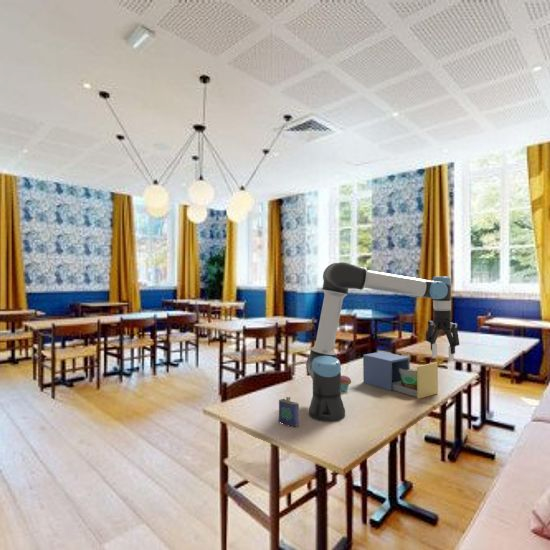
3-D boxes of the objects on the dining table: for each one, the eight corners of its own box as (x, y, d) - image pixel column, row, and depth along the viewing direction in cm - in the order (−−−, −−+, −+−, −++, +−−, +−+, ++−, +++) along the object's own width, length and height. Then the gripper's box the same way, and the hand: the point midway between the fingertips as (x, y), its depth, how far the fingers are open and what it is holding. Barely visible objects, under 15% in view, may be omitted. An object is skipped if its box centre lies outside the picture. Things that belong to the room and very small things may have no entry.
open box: (390, 390, 190) (390, 360, 190) (363, 382, 205) (363, 354, 205) (409, 385, 198) (409, 357, 198) (382, 378, 213) (381, 351, 213)
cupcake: (331, 390, 190) (331, 367, 190) (337, 386, 198) (337, 363, 198) (348, 393, 186) (348, 368, 186) (353, 388, 194) (353, 365, 194)
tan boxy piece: (418, 398, 176) (418, 366, 176) (388, 389, 191) (388, 360, 191) (437, 393, 184) (437, 362, 184) (407, 384, 199) (407, 356, 199)
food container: (397, 390, 186) (397, 370, 186) (398, 386, 192) (398, 367, 192) (424, 392, 182) (424, 372, 182) (424, 389, 187) (424, 369, 187)
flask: (300, 426, 146) (299, 398, 146) (295, 428, 143) (295, 400, 144) (281, 420, 152) (280, 394, 152) (276, 422, 149) (276, 395, 149)
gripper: (468, 310, 168) (468, 362, 168) (427, 307, 185) (427, 354, 185) (458, 311, 163) (459, 364, 163) (417, 308, 181) (418, 356, 180)
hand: (442, 359), depth 174 cm, fingers open, 8 cm apart
